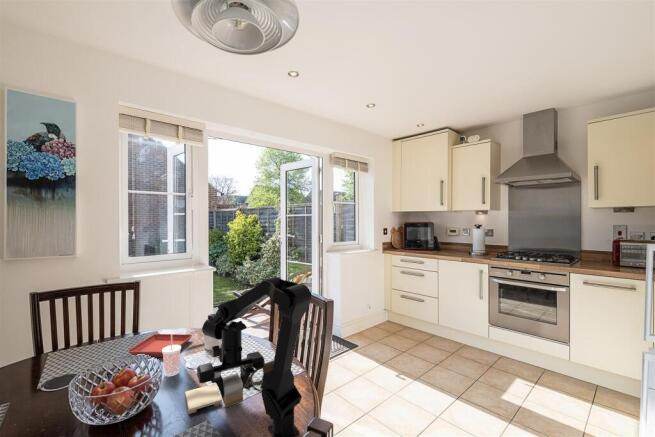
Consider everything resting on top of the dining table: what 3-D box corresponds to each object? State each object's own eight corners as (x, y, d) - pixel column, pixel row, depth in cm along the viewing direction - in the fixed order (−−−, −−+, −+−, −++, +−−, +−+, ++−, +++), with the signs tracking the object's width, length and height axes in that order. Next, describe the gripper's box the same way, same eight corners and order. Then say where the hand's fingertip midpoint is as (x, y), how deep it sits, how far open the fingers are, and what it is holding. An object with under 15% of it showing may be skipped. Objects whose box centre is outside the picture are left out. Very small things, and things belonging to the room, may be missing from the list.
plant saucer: (154, 340, 138) (154, 333, 138) (193, 341, 137) (193, 333, 137) (126, 359, 120) (126, 351, 120) (171, 360, 119) (171, 352, 119)
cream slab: (221, 404, 91) (221, 399, 91) (189, 414, 86) (189, 409, 86) (215, 388, 100) (215, 383, 100) (185, 396, 95) (185, 391, 95)
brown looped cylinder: (276, 377, 97) (286, 356, 106) (239, 370, 99) (251, 350, 108) (276, 395, 99) (285, 373, 108) (239, 388, 101) (251, 367, 110)
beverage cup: (158, 377, 106) (158, 338, 106) (167, 368, 112) (167, 331, 112) (176, 377, 106) (176, 337, 106) (184, 368, 112) (184, 331, 112)
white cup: (202, 344, 133) (202, 322, 132) (221, 341, 136) (221, 319, 136) (203, 352, 125) (203, 328, 125) (223, 348, 129) (223, 325, 129)
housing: (243, 401, 89) (242, 382, 89) (225, 406, 87) (225, 387, 87) (237, 390, 95) (237, 373, 94) (221, 396, 92) (220, 378, 92)
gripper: (253, 327, 102) (253, 373, 102) (194, 339, 92) (194, 390, 93) (265, 339, 93) (265, 390, 93) (199, 354, 83) (200, 410, 83)
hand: (231, 394), depth 91 cm, fingers closed on housing, 5 cm apart
